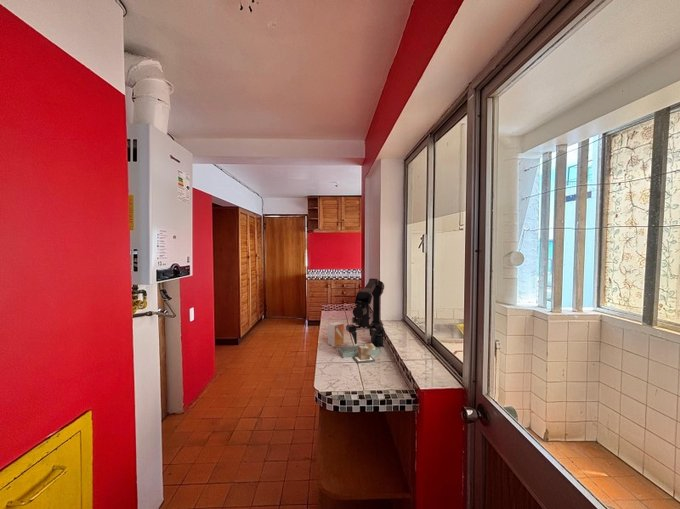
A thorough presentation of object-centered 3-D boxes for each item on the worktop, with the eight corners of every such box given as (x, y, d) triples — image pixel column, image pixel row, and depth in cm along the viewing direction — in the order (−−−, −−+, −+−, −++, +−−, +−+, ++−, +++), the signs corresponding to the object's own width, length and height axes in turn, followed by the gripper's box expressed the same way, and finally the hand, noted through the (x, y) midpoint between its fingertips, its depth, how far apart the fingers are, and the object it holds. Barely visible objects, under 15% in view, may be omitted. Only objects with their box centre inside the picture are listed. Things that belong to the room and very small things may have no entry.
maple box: (372, 350, 182) (372, 343, 182) (375, 354, 176) (375, 347, 175) (364, 350, 182) (364, 343, 182) (366, 354, 175) (366, 347, 175)
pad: (369, 356, 171) (369, 355, 171) (375, 361, 163) (375, 359, 163) (352, 358, 168) (352, 356, 168) (357, 363, 160) (357, 361, 160)
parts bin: (372, 348, 185) (372, 344, 185) (379, 354, 175) (379, 349, 175) (337, 351, 179) (337, 347, 179) (343, 357, 168) (343, 353, 168)
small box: (334, 346, 188) (334, 325, 188) (327, 344, 193) (327, 323, 192) (343, 343, 194) (344, 323, 193) (337, 341, 198) (337, 321, 198)
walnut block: (366, 356, 168) (366, 345, 168) (369, 359, 164) (369, 348, 164) (357, 357, 167) (358, 346, 167) (361, 360, 162) (361, 348, 162)
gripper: (374, 310, 175) (374, 338, 175) (343, 312, 170) (342, 340, 170) (382, 314, 165) (382, 343, 165) (349, 316, 159) (349, 346, 159)
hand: (363, 343), depth 165 cm, fingers open, 9 cm apart
